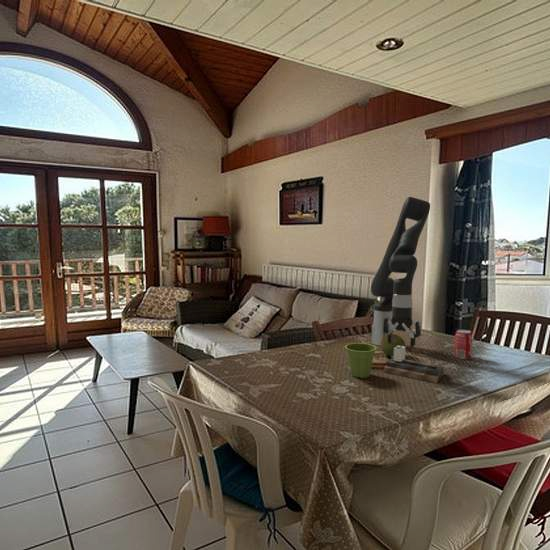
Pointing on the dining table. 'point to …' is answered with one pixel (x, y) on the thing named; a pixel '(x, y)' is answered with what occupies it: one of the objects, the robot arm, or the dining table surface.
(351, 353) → the plant pot
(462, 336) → the soda can
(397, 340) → the fruit
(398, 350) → the fader knob
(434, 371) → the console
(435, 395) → the dining table surface
